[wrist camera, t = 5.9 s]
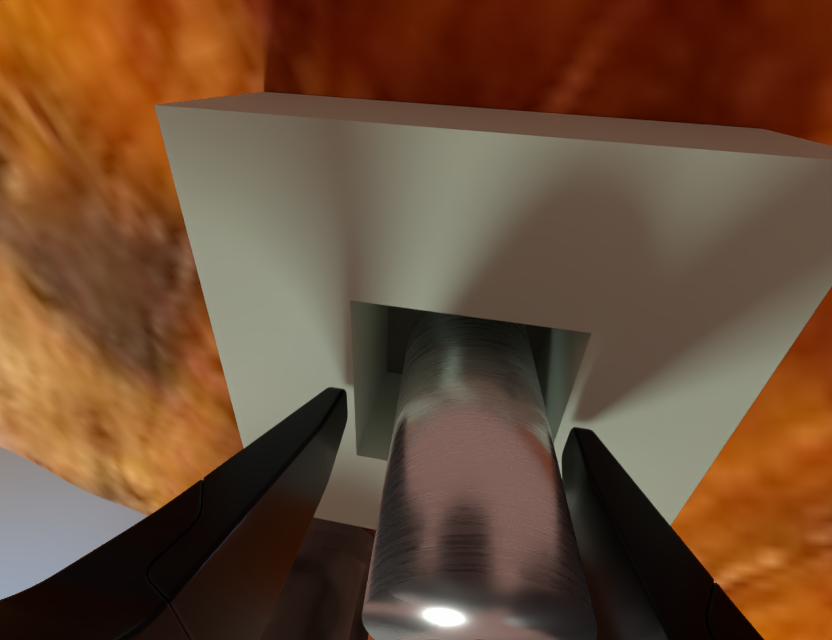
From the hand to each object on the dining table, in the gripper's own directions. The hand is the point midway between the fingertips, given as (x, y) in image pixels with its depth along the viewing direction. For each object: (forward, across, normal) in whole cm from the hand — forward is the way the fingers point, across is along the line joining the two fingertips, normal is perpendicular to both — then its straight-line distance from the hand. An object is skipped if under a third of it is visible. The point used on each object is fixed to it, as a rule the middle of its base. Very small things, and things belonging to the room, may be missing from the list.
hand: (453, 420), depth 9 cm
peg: (+4, 0, 0) cm, 4 cm away
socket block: (+4, 0, 0) cm, 4 cm away
